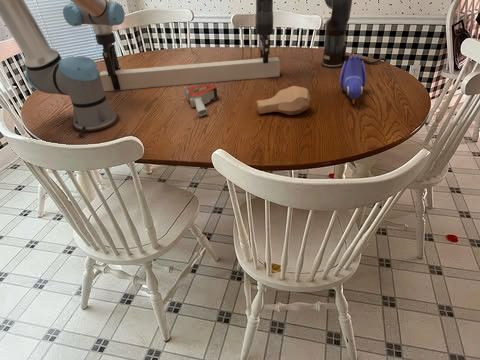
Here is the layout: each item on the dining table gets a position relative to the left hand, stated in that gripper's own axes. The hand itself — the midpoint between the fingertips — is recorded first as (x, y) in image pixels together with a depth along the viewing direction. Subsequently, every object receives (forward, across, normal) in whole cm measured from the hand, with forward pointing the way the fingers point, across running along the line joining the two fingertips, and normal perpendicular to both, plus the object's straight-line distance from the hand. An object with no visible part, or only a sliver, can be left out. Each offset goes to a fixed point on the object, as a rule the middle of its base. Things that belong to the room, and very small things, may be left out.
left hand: (118, 86), depth 161 cm
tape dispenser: (+1, -26, -37) cm, 45 cm away
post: (+1, 0, -34) cm, 34 cm away
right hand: (-7, 0, -67) cm, 67 cm away
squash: (+1, -39, -68) cm, 79 cm away
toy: (+1, -31, -97) cm, 102 cm away
